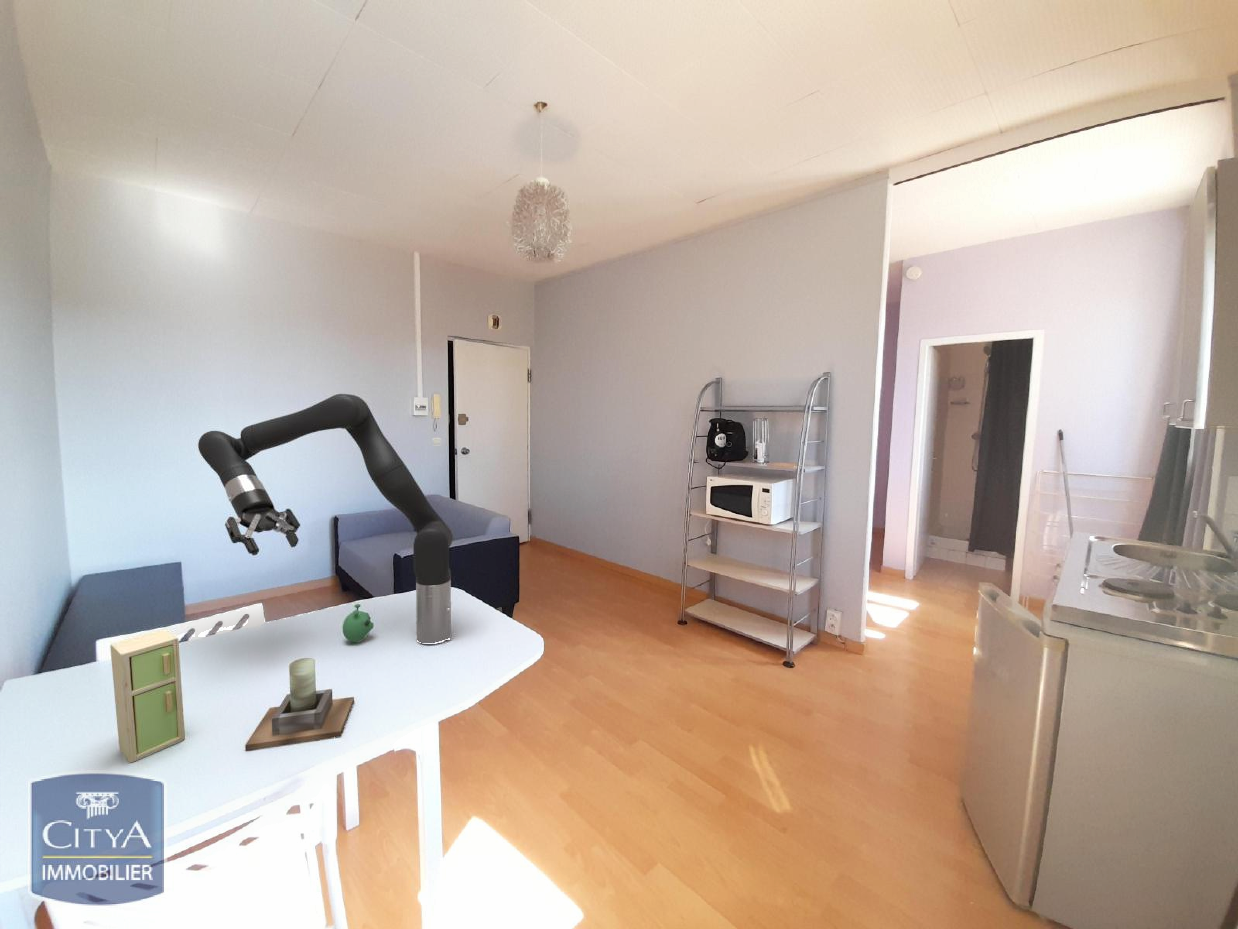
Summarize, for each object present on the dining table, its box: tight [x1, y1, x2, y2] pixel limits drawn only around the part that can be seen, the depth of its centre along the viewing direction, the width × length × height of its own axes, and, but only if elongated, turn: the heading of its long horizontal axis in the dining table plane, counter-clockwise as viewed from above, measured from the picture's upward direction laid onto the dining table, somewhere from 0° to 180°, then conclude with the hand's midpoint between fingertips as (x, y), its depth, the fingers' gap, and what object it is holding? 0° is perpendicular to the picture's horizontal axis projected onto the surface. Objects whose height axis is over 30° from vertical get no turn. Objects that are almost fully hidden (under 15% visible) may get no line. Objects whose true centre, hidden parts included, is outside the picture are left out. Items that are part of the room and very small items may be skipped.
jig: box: [244, 688, 355, 752], centre depth 98 cm, size 16×12×5 cm
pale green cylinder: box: [288, 657, 317, 713], centre depth 98 cm, size 4×4×12 cm
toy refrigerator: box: [109, 628, 186, 764], centre depth 90 cm, size 8×7×21 cm
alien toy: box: [342, 603, 375, 643], centre depth 134 cm, size 7×8×10 cm
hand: (276, 549), depth 115 cm, fingers open, 8 cm apart
